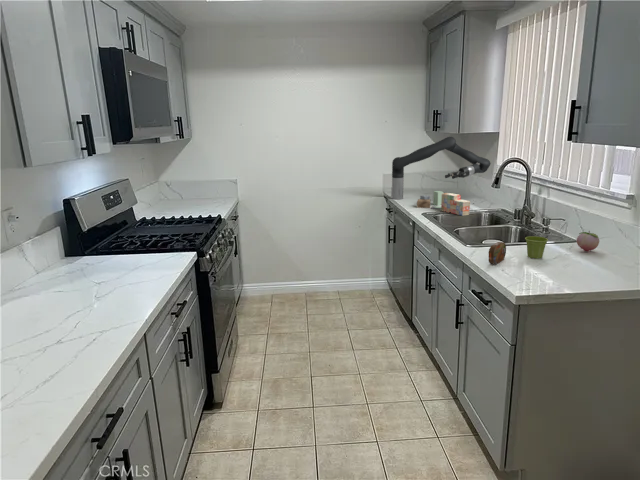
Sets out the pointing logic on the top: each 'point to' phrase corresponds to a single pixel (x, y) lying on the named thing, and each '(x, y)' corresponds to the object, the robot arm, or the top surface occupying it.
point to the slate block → (425, 197)
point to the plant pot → (535, 246)
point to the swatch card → (435, 207)
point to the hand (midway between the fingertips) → (448, 177)
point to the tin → (497, 253)
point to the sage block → (437, 198)
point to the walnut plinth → (423, 203)
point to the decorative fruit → (587, 241)
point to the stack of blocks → (454, 204)
